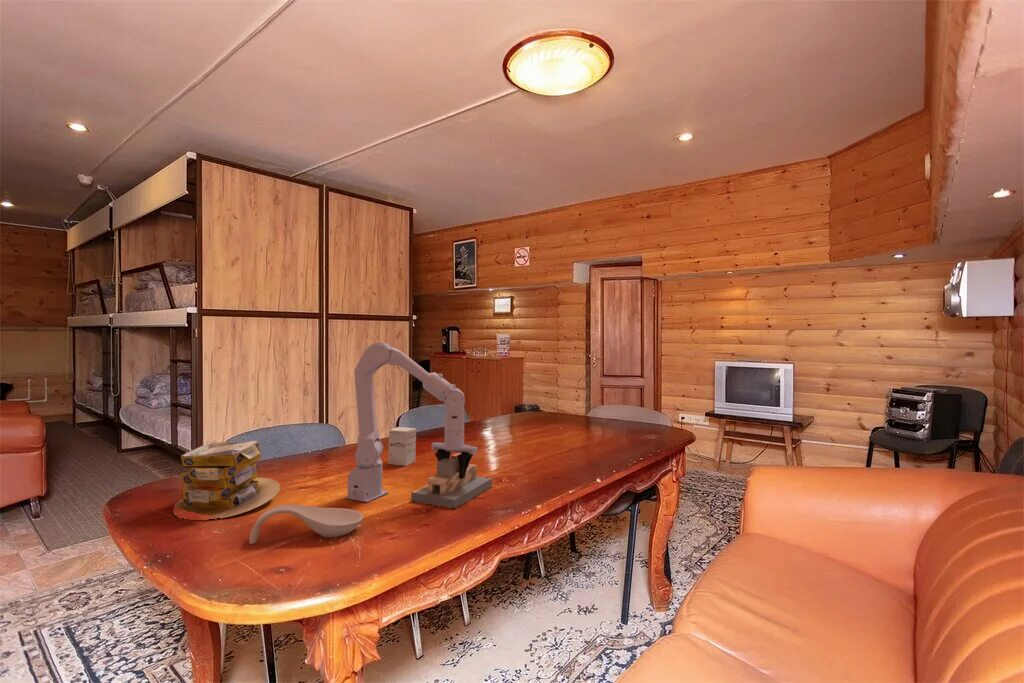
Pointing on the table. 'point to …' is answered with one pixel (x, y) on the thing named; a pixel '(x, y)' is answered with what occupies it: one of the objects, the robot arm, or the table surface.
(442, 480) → the tan piece
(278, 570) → the table surface
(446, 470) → the grey cube
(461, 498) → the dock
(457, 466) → the salmon pink cube
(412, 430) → the supplement box
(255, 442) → the stacked yellow boxes
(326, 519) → the spoon rest
